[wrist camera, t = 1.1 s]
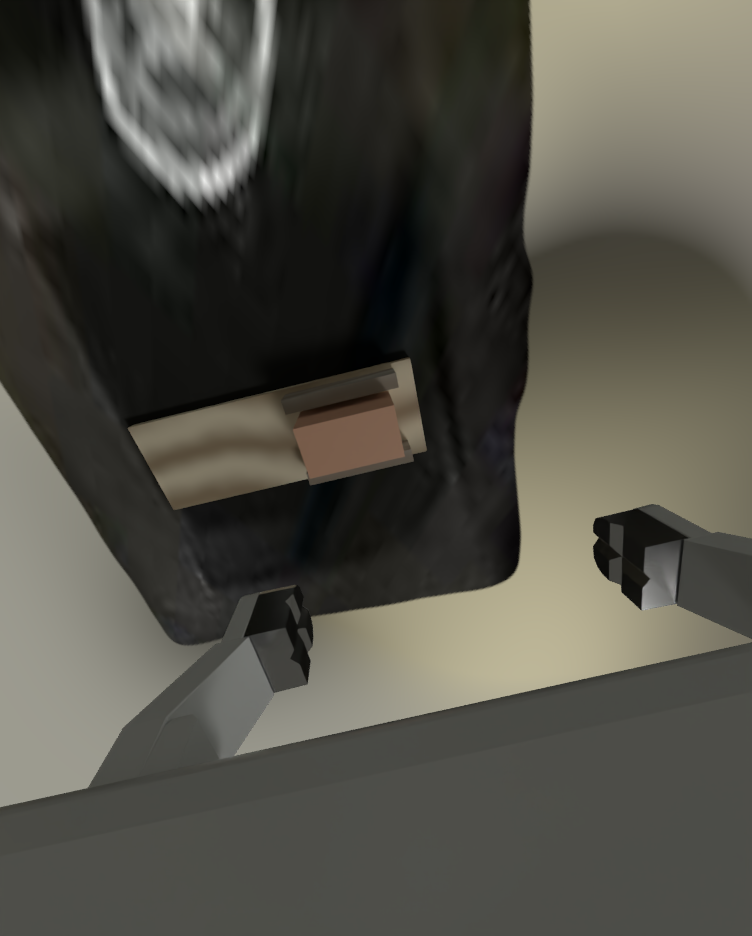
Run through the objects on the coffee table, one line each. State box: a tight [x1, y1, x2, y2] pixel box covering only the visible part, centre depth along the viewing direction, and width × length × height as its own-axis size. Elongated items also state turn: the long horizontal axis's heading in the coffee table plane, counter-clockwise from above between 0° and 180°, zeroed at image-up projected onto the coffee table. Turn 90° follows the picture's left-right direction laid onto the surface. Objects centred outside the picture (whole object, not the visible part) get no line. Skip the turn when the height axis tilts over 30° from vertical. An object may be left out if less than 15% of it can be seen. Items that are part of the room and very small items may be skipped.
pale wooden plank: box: [128, 357, 427, 510], centre depth 40 cm, size 11×32×4 cm, turn 103°
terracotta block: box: [293, 391, 405, 479], centre depth 38 cm, size 6×10×6 cm, turn 103°
